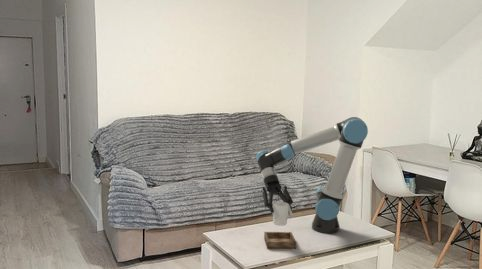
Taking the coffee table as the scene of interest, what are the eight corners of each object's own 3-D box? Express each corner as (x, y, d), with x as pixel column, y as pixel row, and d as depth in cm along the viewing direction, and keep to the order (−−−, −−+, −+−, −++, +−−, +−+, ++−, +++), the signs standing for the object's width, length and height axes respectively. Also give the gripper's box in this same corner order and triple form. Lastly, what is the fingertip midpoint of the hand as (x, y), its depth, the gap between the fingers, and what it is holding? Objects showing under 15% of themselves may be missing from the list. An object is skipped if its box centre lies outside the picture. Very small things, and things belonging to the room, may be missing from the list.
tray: (291, 238, 225) (291, 232, 224) (295, 249, 211) (296, 242, 210) (264, 238, 224) (264, 231, 223) (267, 248, 210) (267, 241, 210)
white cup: (276, 226, 211) (277, 206, 210) (269, 221, 218) (270, 202, 217) (290, 225, 214) (292, 205, 213) (283, 220, 221) (284, 201, 220)
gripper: (285, 180, 232) (298, 219, 219) (249, 183, 224) (262, 223, 211) (290, 173, 226) (305, 212, 214) (254, 175, 218) (267, 215, 206)
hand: (283, 217), depth 213 cm, fingers closed on white cup, 8 cm apart
